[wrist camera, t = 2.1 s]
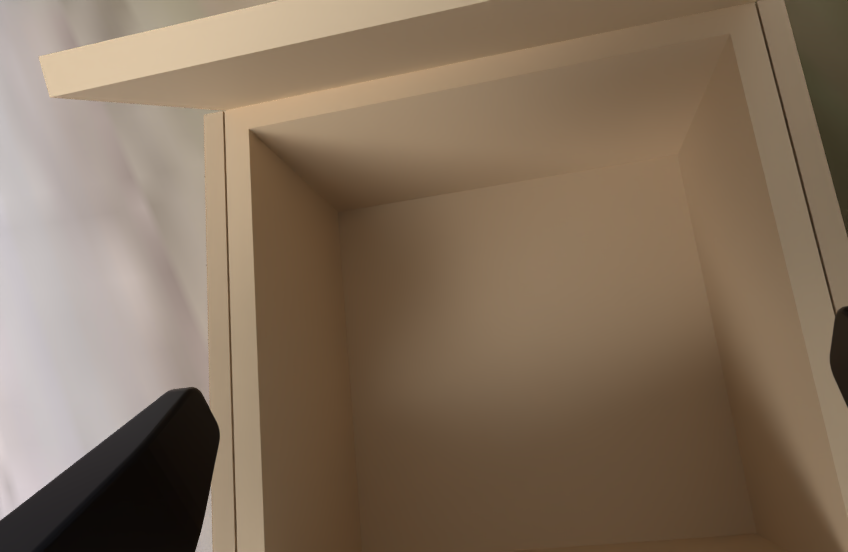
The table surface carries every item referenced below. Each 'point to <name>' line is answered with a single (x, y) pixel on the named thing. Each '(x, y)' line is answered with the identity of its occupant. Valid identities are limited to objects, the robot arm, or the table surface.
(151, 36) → the carton flap
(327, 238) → the carton
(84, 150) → the table surface
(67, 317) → the table surface
